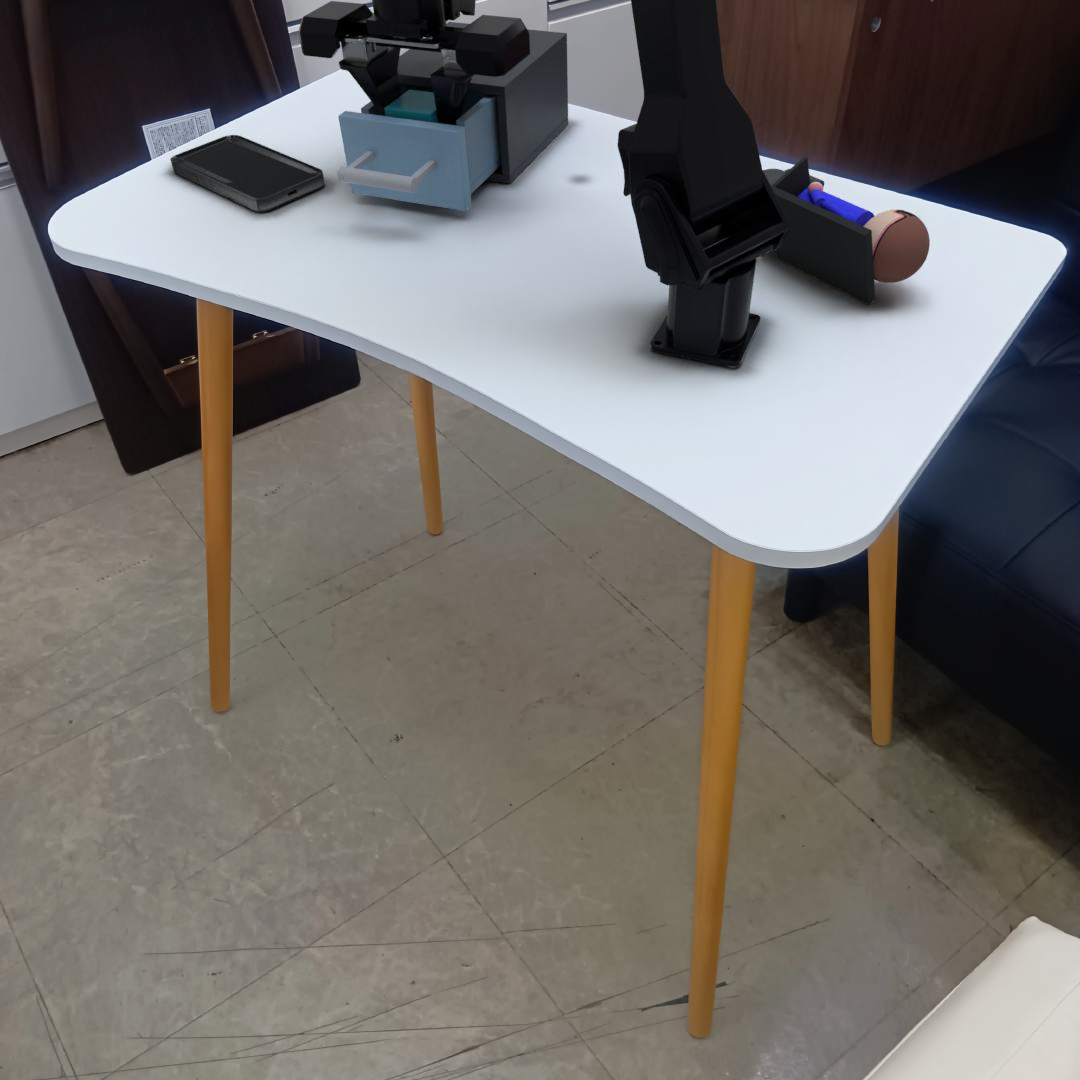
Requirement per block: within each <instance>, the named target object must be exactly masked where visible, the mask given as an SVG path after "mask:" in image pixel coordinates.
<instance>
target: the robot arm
mask: <svg viewBox="0 0 1080 1080" xmlns="http://www.w3.org/2000/svg"><path fill="white" fill-rule="evenodd" d="M371 2H372V3H371V4H372V9H373V12H372V10H371V9H370V8H369V7H368V5H367V4H366V3H360V2H359V3H358V2H349V1H347V2H346V1H336V0H331V1H329V2H327V3H325V4H323V5H322V6H320V7H318V8H316V9H314V10H313V11H311V12H309V13H307V14H305V15H303V16H302V19H301V20H300V23H299V27H298V31H297V32H298V38H299V44H300V48H301V53H302V54H303V56H305V57H314V58H315V57H316V58H324V59H332V58H334V57H335V56H336V55H337V53H338V52H339V50H340V49H341V52H342V58H343V59H341V60H340V61H338V66H339V69H340V70H342V71H346V72H348V73H349V74H350V75H351V77H352V78H353V79H354V80H355V82H356V84H357V85H358V86H359V87H360V88H361V90H362V91H363V92H364V94H365V95H366V96H367V98H368V99H369V100H370V101H371V102H372V103H373V105H374V106H375V108H376V109H377V111H378V112H379V114H380V116H385V107H386V106H388V105H389V104H391V103H392V102H393V101H395V100H396V99H397V98H399V97H400V96H401V91H400V84H399V77H398V62H399V56H400V55H401V49H405V50H409V49H413V50H422V51H432V52H441V54H442V61H443V65H442V66H441V67H439V68H438V69H437V70H435V71H434V72H433V73H431V74H430V77H431V83H432V88H433V94H434V99H435V105H436V111H437V116H438V122H439V123H440V124H448V125H455V126H457V125H456V121H457V120H458V119H459V118H460V115H461V111H462V107H463V103H464V99H465V95H466V92H467V90H468V87H469V84H470V82H471V79H472V77H473V76H474V75H482V76H491V77H498V76H504V75H506V74H507V73H508V72H509V71H511V70H512V69H513V68H514V67H515V66H517V65H518V64H519V63H520V62H521V61H523V60H524V59H525V58H526V57H527V56H529V55H530V37H529V31H528V30H527V29H528V28H527V26H526V25H525V23H524V21H523V20H522V18H521V17H510V16H500V15H499V16H498V15H490V14H489V15H488V14H482V15H480V16H479V17H477V18H476V19H475V20H473V21H471V23H468V24H469V25H468V26H466V27H465V28H458V27H448V26H447V25H446V24H447V23H448V21H455V20H457V19H458V18H460V17H461V14H462V15H463V16H472V17H474V16H475V15H476V0H371ZM630 3H631V10H632V17H633V26H634V32H635V39H636V45H637V50H638V51H637V53H638V59H639V60H638V61H639V66H640V67H639V68H640V73H641V80H642V87H643V101H642V105H641V107H640V111H639V114H638V117H637V120H636V123H635V124H634V123H633V124H632V125H629V126H626V127H624V128H622V129H619V131H618V136H617V150H618V154H619V157H620V160H621V164H622V169H623V177H624V180H623V181H624V183H623V193H622V194H623V195H624V197H628V196H630V203H631V207H632V211H633V214H634V217H635V223H636V227H637V231H638V236H639V241H640V247H641V251H642V255H643V260H644V265H645V267H646V268H647V269H648V270H650V271H652V272H654V273H656V274H657V276H658V277H659V283H660V284H663V285H665V286H668V295H667V296H668V298H667V312H666V313H667V314H666V316H665V317H664V319H663V321H662V323H661V324H660V326H659V328H658V329H657V331H656V332H655V335H654V336H653V337H652V339H651V341H650V350H651V351H652V352H655V353H661V354H664V355H670V356H675V357H680V358H685V359H690V360H696V361H701V362H706V363H711V364H716V365H721V366H726V367H732V368H737V367H740V366H741V365H742V363H743V361H744V358H745V357H746V354H747V352H748V351H749V347H750V346H751V344H752V342H753V339H754V337H755V335H756V333H757V330H758V328H759V326H760V324H761V316H760V315H759V314H756V313H752V312H750V311H751V304H752V297H753V296H752V295H753V289H754V282H755V281H754V280H755V273H756V265H757V259H758V258H760V257H762V256H763V255H766V254H767V253H770V252H771V251H776V249H778V248H780V247H781V245H782V243H783V241H784V239H785V237H786V235H787V234H788V232H789V230H790V227H791V224H790V221H789V219H788V218H787V216H786V214H785V212H784V210H783V208H782V206H781V204H780V202H779V200H778V198H777V197H776V195H775V193H774V191H773V189H772V187H771V185H770V183H769V181H768V179H767V177H766V176H765V174H764V172H763V170H764V169H763V167H762V162H761V157H760V151H759V147H758V143H757V138H756V133H755V129H754V125H753V121H752V118H751V116H750V115H749V113H748V112H747V110H746V108H745V107H744V106H743V104H742V103H741V102H740V100H739V99H738V97H737V96H736V94H735V93H734V91H733V90H732V88H731V87H730V86H729V83H728V82H727V81H726V77H725V73H724V67H723V64H724V63H723V56H722V46H721V36H720V26H719V17H718V6H717V0H630ZM430 37H432V39H427V38H430Z"/></svg>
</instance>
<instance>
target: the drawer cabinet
mask: <svg viewBox="0 0 1080 1080" xmlns="http://www.w3.org/2000/svg"><path fill="white" fill-rule="evenodd" d="M469 24H470V23H465V22H456V21H455V22H454V21H449V22H448V21H447V22H446V25H447V26H448V27H458V28H465V27H466V26H468V25H469ZM527 30H528V31H529V37H530V55H529V56H527V57H526V58H525V59H524V60H523V61H521V62H520V63H519V64H518V65H517V66H515V67H514V68H513V69H512V70H511V71H509V72H508V73H507V74H506V75H504V76H498V77H491V76H482V75H474V76H473V77H472V79H471V82H470V84H469V87H468V90H467V92H475V93H483V94H491V95H497V102H498V118H499V133H500V149H501V165H500V166H499V167H498V168H497V169H496V170H495V171H494V172H493V173H492V174H491V175H490V176H489V177H488V178H487V179H486V180H485V181H489V182H494V183H502V184H509V185H510V184H512V183H513V181H514V180H516V178H518V177H519V175H520V174H521V173H523V171H524V170H525V169H526V168H527V167H528V166H529V165H530V164H531V163H533V161H534V160H535V159H536V158H537V157H538V156H539V155H540V154H541V153H542V152H543V151H544V150H545V149H546V148H547V147H548V146H549V145H550V144H551V142H553V140H554V139H555V138H556V137H557V136H558V135H560V133H561V132H562V131H563V130H564V129H565V128H566V127H567V126H568V125H569V91H568V89H569V86H568V85H569V84H568V83H569V79H568V77H569V76H568V33H567V32H558V31H548V30H538V29H528V28H527ZM427 39H432V37H430V38H427ZM442 65H443V61H442V54H441V52H432V51H422V50H413V49H407V50H406V51H405V52H403V53H402V54H400V56H399V62H398V77H399V83H400V84H408V85H416V86H425V87H432V83H431V77H430V74H431V73H433V72H434V71H435V70H437V69H438V68H439V67H441V66H442Z"/></svg>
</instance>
